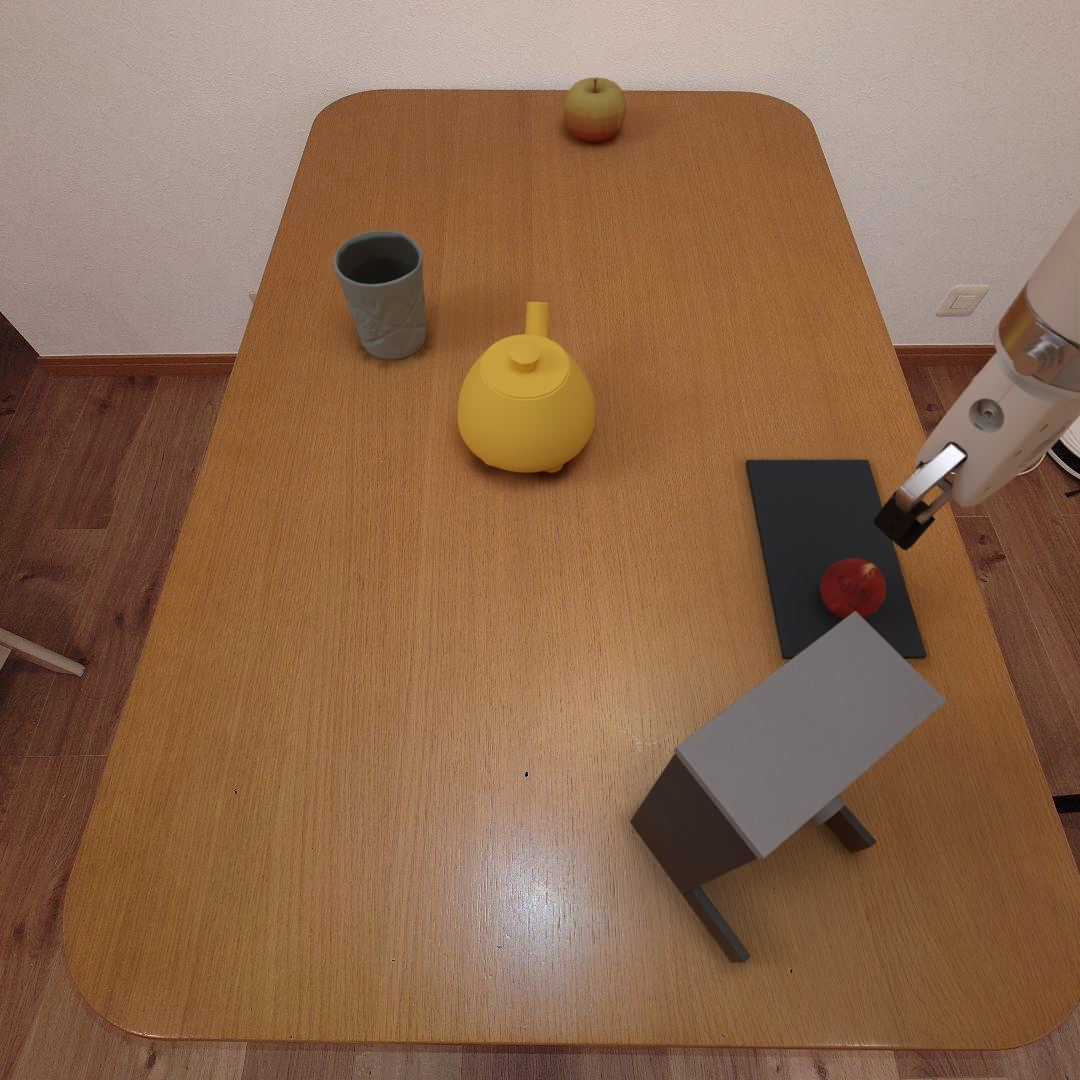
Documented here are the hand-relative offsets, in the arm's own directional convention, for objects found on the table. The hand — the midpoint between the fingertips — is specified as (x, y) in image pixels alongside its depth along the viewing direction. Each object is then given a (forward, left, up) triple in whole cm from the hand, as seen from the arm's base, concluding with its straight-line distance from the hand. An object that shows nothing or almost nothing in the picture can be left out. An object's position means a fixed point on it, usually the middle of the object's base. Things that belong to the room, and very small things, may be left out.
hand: (933, 504), depth 55 cm
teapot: (+39, +11, -21) cm, 45 cm away
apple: (+83, -32, -21) cm, 91 cm away
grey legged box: (-10, +22, -20) cm, 32 cm away
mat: (+6, -5, -21) cm, 22 cm away
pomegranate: (+1, -1, -20) cm, 20 cm away
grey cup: (+61, +17, -21) cm, 66 cm away
